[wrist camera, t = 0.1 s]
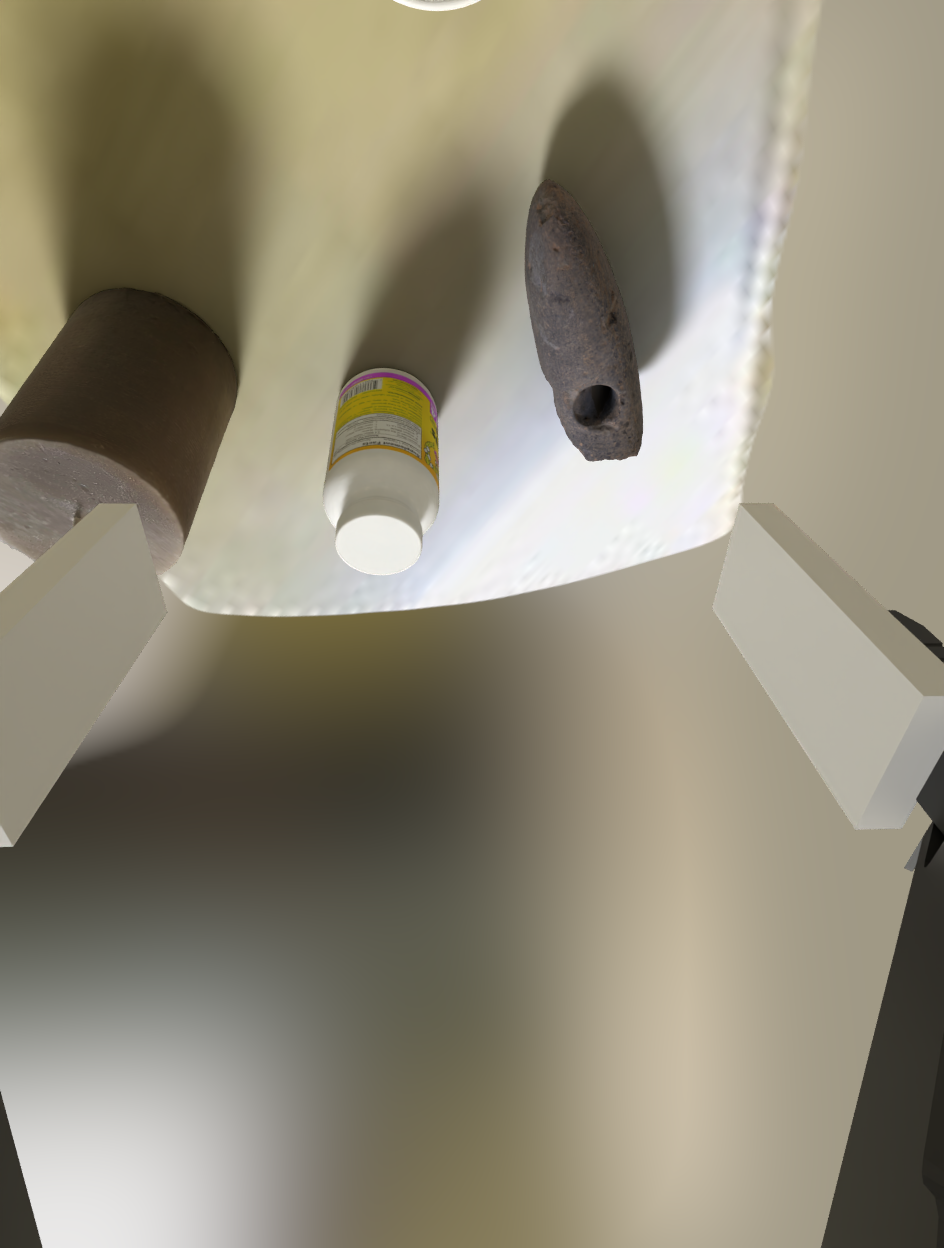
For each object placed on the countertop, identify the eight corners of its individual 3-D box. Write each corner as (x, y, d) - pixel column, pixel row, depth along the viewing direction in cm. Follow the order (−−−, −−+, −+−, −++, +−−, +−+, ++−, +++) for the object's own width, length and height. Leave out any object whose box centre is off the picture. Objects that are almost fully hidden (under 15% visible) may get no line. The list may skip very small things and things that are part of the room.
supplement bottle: (419, 462, 46) (416, 599, 39) (326, 434, 44) (304, 573, 36) (453, 382, 42) (458, 520, 34) (351, 347, 40) (331, 485, 32)
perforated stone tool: (493, 180, 33) (502, 237, 29) (596, 139, 32) (621, 192, 27) (557, 420, 44) (571, 487, 40) (635, 396, 43) (657, 463, 39)
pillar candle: (169, 261, 35) (71, 426, 26) (268, 410, 43) (219, 580, 33) (28, 319, 38) (-109, 490, 28) (145, 451, 45) (67, 621, 36)
